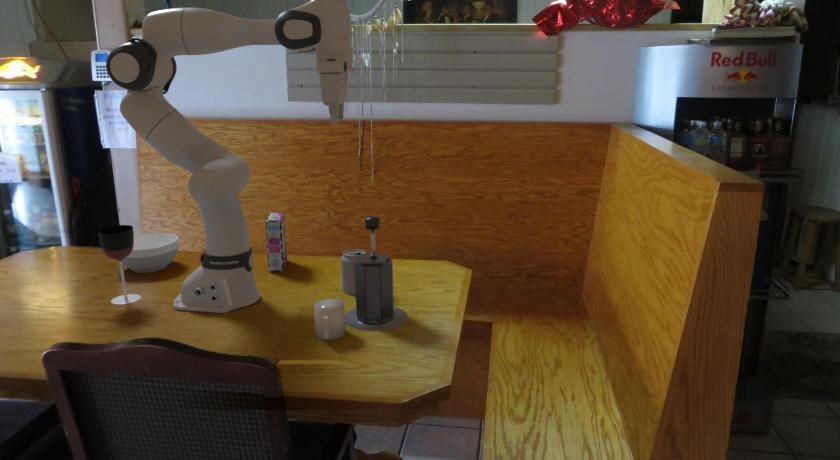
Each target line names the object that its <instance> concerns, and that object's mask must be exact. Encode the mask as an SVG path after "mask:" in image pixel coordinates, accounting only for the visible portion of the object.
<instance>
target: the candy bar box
mask: <svg viewBox="0 0 840 460" xmlns="http://www.w3.org/2000/svg"><path fill="white" fill-rule="evenodd" d="M285 214H286V213H285V212H270V213H269V214H268V216H267V218H266V219H265V234H266V235H265V236H266V249H267V262H268V263H267V264H268V267H267V268H268V272H270V273H277V272H278V273H281V272H284V271H285V269H286V265H287V262H288V251H287V250H288V248H287V233H286V217H285Z"/></svg>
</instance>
